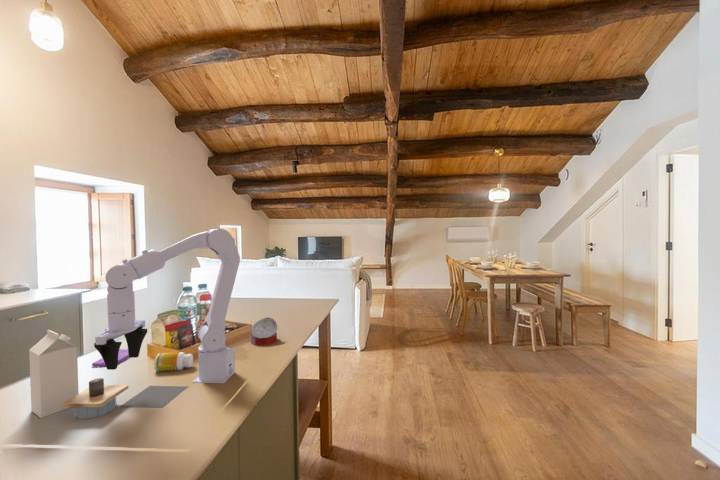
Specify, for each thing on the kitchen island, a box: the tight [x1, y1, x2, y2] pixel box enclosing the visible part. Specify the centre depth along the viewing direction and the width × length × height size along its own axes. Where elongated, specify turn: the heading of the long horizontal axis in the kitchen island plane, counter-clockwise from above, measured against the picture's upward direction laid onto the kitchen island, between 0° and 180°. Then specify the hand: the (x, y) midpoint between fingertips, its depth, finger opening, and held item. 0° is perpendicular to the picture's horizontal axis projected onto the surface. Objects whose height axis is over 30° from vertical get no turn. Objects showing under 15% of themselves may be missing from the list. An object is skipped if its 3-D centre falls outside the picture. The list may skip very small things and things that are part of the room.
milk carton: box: [28, 329, 80, 419], centre depth 82 cm, size 7×7×19 cm
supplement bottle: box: [153, 351, 194, 372], centre depth 104 cm, size 5×5×10 cm
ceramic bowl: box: [74, 396, 117, 419], centre depth 81 cm, size 8×8×4 cm
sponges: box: [91, 348, 131, 368], centre depth 114 cm, size 7×13×2 cm, turn 2°
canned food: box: [250, 317, 278, 346], centre depth 131 cm, size 11×10×10 cm
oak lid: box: [61, 377, 129, 408], centre depth 80 cm, size 9×9×4 cm
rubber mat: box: [119, 385, 189, 409], centre depth 87 cm, size 11×11×1 cm
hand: (123, 362), depth 87 cm, fingers open, 7 cm apart
